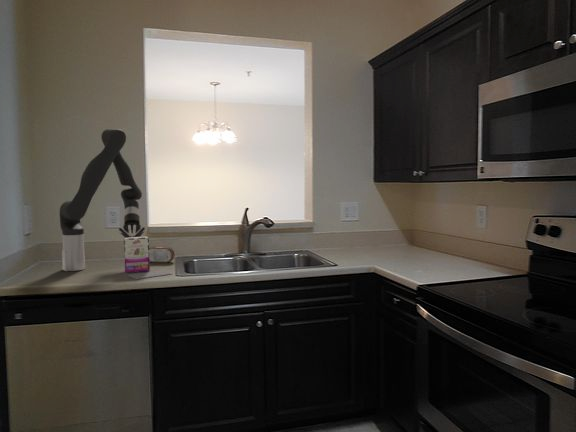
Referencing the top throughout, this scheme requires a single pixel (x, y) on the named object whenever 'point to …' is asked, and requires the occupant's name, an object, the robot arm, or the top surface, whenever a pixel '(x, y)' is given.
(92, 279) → the top surface
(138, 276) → the mat
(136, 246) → the candy bar box
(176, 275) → the top surface
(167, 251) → the tin
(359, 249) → the top surface
